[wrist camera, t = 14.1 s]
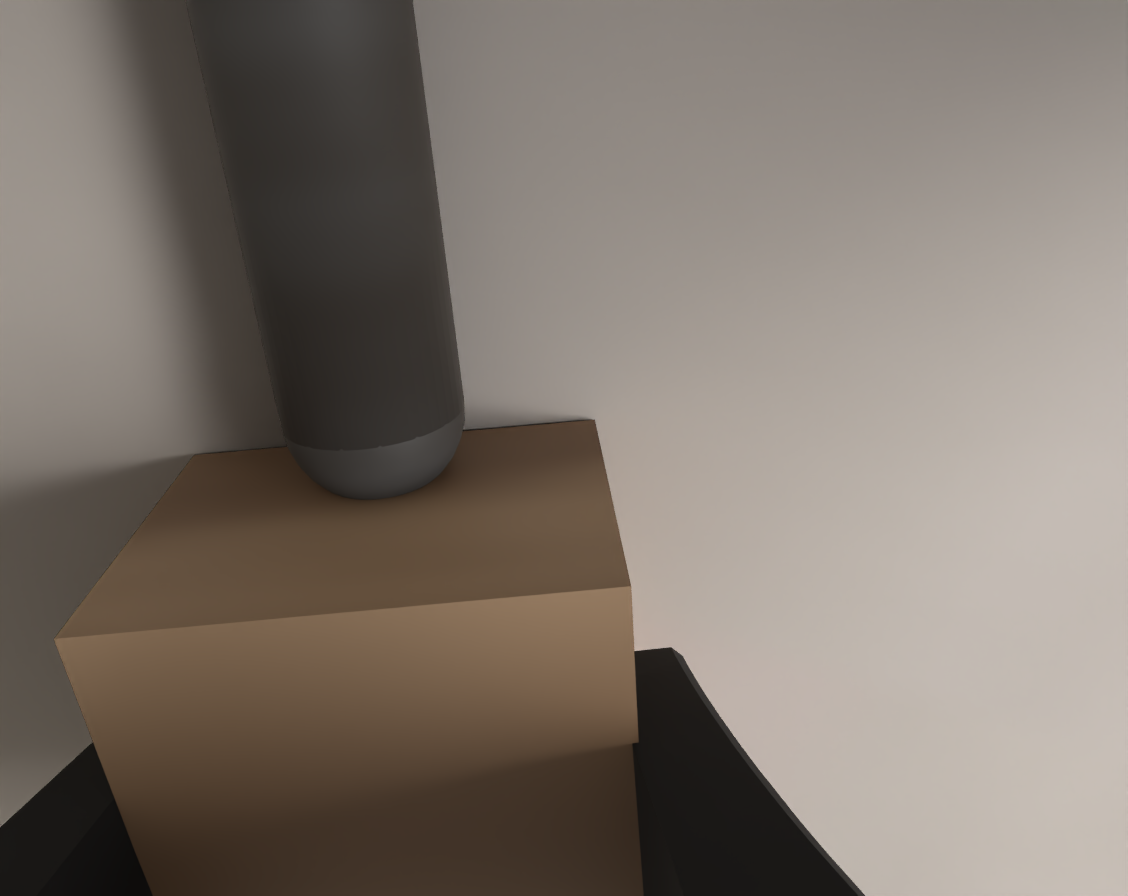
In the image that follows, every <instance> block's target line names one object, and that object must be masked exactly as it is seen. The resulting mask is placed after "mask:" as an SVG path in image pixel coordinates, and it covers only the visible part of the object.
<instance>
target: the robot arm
mask: <svg viewBox="0 0 1128 896" xmlns="http://www.w3.org/2000/svg"><path fill="white" fill-rule="evenodd" d="M634 657H635V677H636V697H637V718H638V738H639V743H632V747H633V760H634V773H635V787H636V800H637V813H638V827H639V840H640V853H641V867H642V880H643V893H644V896H865V895H864V894H863V893H862V892H861V890H860V889H859V888H858V887H857V886H856V885H855V884H854V883H853V882H852V880H851V879H850V878H849V877H848V876H847V875H846V874H845V873H844V872H843V870H842V869H841V868H840V867H839V866H838V865H837V864H836V863H835V861H834V860H833V859H832V858H831V857H830V856H829V855H828V854H827V852H826V851H825V850H824V849H823V848H822V847H821V845H820V844H819V843H818V842H817V841H816V840H815V838H814V837H813V836H812V835H811V834H810V832H809V831H808V830H807V829H806V828H805V827H804V825H803V824H802V823H801V822H800V821H799V819H798V818H797V817H796V816H795V814H794V813H793V812H792V811H791V809H790V808H789V807H788V806H787V804H786V803H785V802H784V801H783V799H782V798H781V797H780V796H779V794H778V793H777V792H776V791H775V789H774V788H773V787H772V786H771V784H770V783H769V782H768V781H767V779H766V778H765V777H764V776H763V774H762V773H761V772H760V771H759V769H758V768H757V767H756V765H755V764H754V763H753V761H752V760H751V759H750V757H749V756H748V755H747V753H746V752H745V751H744V749H743V748H742V747H741V745H740V744H739V743H738V741H737V740H736V738H735V737H734V736H733V734H732V733H731V731H730V730H729V728H728V727H727V726H726V724H725V723H724V721H723V720H722V719H721V717H720V716H719V714H718V713H717V711H716V710H715V708H714V707H713V705H712V704H711V702H710V701H709V699H708V698H707V696H706V695H705V693H704V692H703V690H702V689H701V687H700V685H699V684H698V682H697V680H696V679H695V677H694V675H693V674H692V672H691V670H690V669H689V667H688V665H687V663H686V661H685V660H684V658H683V656H682V655H680V654H679V653H678V652H677V651H675V650H674V649H673V648H671V647H670V648H661V649H651V650H642V651H634ZM0 896H153V895H152V892H151V890H150V887H149V885H148V882H147V880H146V877H145V875H144V873H143V870H142V868H141V865H140V863H139V860H138V858H137V855H136V853H135V850H134V848H133V845H132V843H131V840H130V837H129V835H128V832H127V829H126V827H125V824H124V822H123V819H122V816H121V814H120V811H119V809H118V806H117V803H116V801H115V798H114V795H113V793H112V790H111V788H110V785H109V782H108V780H107V777H106V775H105V772H104V769H103V767H102V764H101V761H100V759H99V756H98V754H97V751H96V748H95V746H94V743H91V744H90V745H89V746H88V747H87V748H86V749H85V750H84V751H83V752H82V753H80V754H79V755H78V756H77V757H76V758H75V759H74V760H73V761H72V762H71V763H70V764H68V765H67V766H66V767H65V768H64V769H63V770H62V771H61V772H60V773H59V774H58V775H57V776H56V777H54V778H53V779H52V780H51V781H50V782H49V783H48V784H47V785H46V786H45V787H44V788H43V789H41V790H40V791H39V792H38V793H37V794H36V795H35V796H34V797H33V798H32V799H31V800H30V801H29V802H27V803H26V804H25V805H24V806H23V807H22V808H21V809H20V810H19V811H18V812H17V813H15V814H14V815H13V816H12V817H11V818H10V819H9V820H8V821H7V822H6V823H4V824H3V825H2V826H1V827H0Z"/></svg>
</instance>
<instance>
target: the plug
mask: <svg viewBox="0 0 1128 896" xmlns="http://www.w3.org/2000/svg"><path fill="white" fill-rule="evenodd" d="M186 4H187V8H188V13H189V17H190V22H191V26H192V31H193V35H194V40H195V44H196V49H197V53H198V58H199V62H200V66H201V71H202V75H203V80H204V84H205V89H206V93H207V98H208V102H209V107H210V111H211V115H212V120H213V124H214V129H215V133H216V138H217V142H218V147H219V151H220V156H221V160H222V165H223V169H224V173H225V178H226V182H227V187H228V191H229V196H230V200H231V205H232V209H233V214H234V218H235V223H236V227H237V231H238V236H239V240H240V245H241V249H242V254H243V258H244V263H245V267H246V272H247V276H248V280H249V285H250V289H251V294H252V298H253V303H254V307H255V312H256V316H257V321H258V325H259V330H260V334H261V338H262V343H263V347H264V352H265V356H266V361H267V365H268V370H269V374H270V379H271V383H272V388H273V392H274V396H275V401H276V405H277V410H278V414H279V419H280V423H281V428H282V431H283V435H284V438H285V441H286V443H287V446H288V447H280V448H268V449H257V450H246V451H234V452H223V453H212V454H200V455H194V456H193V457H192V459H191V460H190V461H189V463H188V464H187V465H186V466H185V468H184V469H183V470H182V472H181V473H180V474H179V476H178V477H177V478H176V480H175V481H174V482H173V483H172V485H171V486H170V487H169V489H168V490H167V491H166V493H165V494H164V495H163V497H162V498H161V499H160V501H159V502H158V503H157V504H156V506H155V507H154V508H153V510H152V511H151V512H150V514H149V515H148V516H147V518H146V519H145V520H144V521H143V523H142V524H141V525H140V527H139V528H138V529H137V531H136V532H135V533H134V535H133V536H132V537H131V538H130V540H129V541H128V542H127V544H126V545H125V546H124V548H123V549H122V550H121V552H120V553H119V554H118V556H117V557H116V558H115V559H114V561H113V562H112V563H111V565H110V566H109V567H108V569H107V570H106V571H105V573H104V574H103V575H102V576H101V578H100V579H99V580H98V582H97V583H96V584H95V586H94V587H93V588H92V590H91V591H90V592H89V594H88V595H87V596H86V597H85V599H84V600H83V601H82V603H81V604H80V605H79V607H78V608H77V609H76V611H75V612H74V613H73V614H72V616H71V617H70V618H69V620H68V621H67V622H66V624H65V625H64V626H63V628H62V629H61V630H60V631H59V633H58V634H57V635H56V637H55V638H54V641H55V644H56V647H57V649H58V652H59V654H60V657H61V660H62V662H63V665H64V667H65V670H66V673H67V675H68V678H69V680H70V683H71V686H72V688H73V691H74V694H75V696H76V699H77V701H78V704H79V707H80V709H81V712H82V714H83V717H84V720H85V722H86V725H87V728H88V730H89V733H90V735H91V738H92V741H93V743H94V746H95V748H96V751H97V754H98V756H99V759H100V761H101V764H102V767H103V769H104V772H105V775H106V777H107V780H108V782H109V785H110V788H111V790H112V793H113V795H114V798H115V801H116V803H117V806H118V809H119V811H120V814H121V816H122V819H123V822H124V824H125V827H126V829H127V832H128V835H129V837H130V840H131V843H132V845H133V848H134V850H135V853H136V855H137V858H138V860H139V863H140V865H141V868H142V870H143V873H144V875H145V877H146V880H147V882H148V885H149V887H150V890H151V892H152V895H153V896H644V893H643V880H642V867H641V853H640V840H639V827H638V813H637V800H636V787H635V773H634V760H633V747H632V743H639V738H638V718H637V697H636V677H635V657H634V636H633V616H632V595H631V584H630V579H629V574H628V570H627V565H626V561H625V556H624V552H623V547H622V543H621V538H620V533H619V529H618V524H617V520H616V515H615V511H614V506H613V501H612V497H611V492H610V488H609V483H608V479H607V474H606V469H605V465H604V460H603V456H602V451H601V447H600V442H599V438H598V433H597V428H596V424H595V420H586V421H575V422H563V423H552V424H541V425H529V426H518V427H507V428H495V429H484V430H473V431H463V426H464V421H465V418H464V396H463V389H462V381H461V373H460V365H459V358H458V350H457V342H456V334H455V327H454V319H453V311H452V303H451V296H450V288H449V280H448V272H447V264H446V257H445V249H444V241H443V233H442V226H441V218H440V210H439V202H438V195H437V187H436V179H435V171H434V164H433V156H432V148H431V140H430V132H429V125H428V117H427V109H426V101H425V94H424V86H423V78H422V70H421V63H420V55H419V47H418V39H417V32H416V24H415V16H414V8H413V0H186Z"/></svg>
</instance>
